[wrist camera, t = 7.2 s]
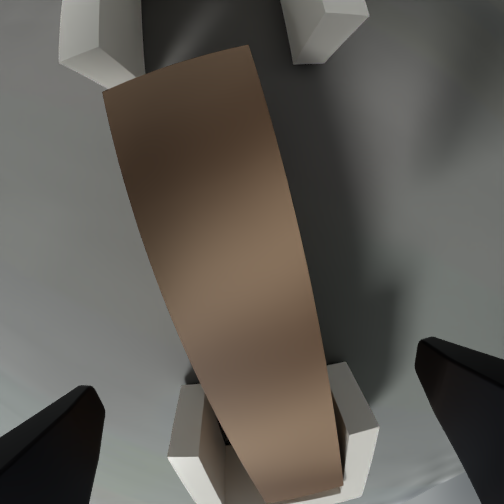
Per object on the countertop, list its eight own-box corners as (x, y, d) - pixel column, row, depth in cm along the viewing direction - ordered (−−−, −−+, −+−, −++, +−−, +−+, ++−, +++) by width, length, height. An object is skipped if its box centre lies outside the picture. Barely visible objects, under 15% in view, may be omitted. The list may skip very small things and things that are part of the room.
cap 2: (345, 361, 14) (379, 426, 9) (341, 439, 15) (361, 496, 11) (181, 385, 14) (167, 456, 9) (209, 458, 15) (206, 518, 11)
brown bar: (320, 414, 15) (343, 485, 10) (258, 430, 15) (266, 503, 10) (242, 92, 11) (248, 44, 6) (154, 119, 11) (102, 91, 6)
